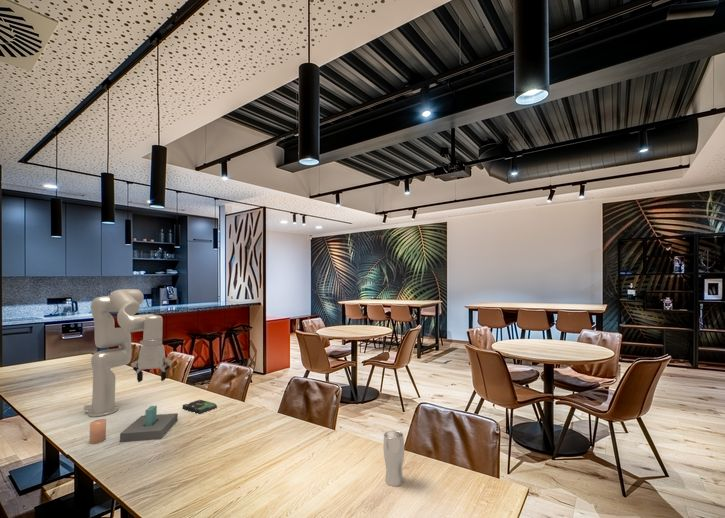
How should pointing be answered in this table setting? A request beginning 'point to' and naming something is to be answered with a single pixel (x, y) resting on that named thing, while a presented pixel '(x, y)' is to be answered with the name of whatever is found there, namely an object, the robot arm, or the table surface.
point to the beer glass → (394, 457)
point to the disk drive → (199, 406)
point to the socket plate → (149, 428)
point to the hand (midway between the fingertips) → (151, 380)
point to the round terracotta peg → (97, 431)
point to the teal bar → (150, 415)
